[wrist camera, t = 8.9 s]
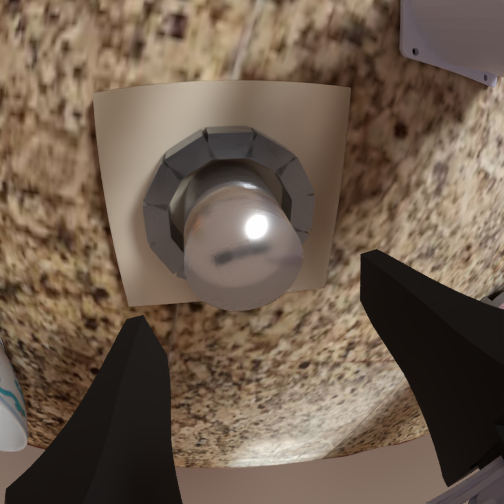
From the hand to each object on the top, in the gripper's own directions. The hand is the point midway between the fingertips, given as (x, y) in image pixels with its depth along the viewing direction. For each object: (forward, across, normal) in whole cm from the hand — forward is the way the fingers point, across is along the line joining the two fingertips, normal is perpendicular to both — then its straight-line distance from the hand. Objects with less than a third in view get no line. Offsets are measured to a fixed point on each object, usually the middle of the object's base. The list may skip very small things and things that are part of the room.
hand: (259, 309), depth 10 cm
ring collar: (+8, 0, 0) cm, 8 cm away
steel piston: (+8, 0, 0) cm, 8 cm away
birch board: (+9, 0, 0) cm, 9 cm away
